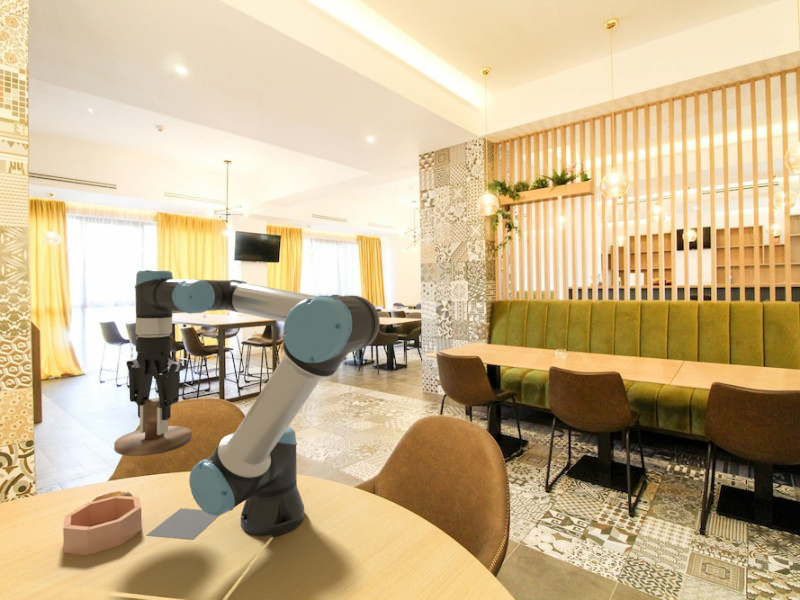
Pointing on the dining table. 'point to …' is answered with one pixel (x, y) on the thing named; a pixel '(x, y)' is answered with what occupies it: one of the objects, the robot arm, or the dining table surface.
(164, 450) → the lid
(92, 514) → the bowl
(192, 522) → the mat
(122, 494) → the pastry
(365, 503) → the dining table surface
